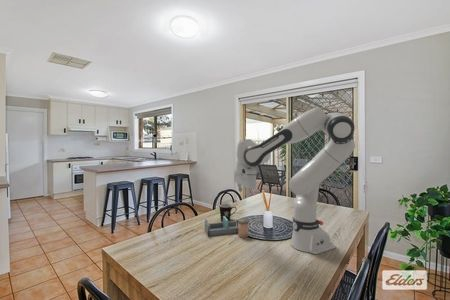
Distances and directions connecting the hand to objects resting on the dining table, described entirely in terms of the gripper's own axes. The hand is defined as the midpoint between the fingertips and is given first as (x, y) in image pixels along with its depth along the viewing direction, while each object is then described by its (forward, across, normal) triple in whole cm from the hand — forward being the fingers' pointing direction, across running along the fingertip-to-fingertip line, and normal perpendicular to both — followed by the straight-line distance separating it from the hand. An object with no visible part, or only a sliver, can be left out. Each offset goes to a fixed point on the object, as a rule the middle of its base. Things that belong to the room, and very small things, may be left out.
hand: (243, 193), depth 121 cm
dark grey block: (+26, -15, -6) cm, 31 cm away
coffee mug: (+27, -31, +3) cm, 41 cm away
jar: (+26, -4, +2) cm, 26 cm away
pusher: (+26, -15, -5) cm, 30 cm away
